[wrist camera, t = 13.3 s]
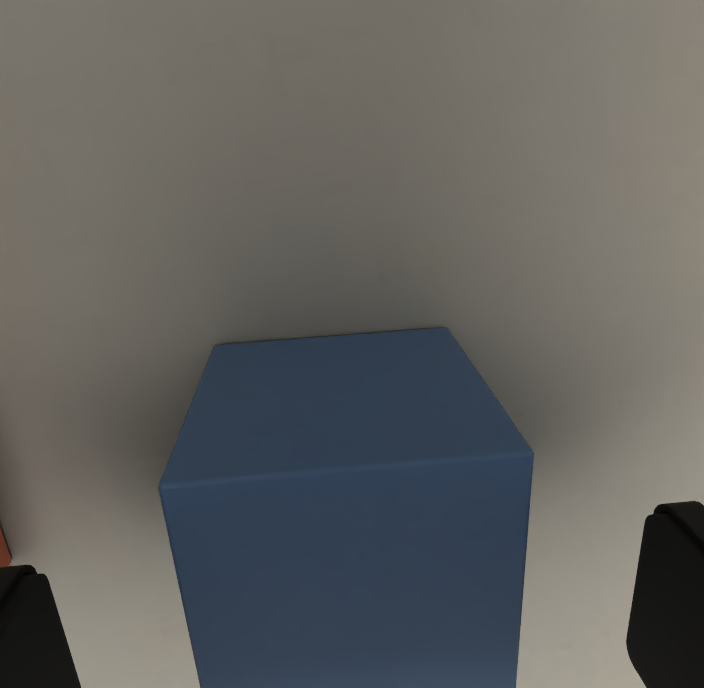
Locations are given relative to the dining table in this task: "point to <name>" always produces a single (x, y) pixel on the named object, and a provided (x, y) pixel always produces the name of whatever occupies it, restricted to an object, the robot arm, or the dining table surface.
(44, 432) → the dining table surface
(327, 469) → the blue block
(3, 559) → the orange open box
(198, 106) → the dining table surface
